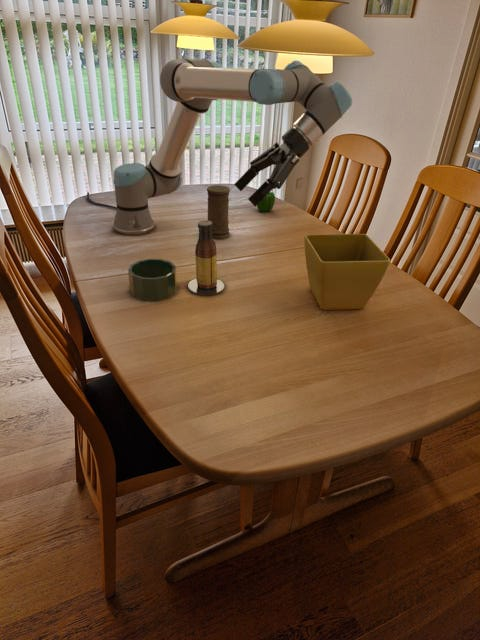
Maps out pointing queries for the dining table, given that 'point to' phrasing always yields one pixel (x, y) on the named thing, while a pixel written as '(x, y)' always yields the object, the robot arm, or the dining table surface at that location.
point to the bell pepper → (266, 202)
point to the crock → (152, 279)
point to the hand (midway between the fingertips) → (244, 195)
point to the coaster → (197, 290)
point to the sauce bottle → (206, 257)
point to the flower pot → (343, 269)
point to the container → (218, 210)
